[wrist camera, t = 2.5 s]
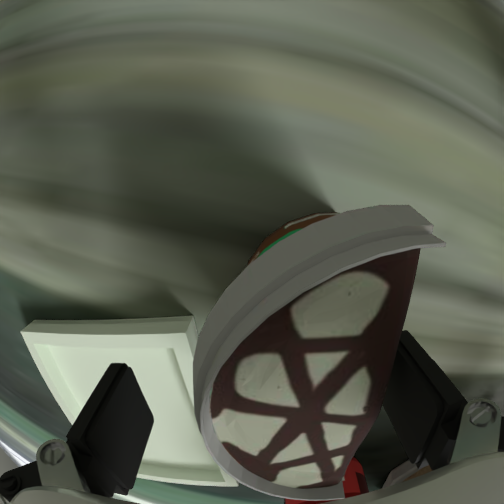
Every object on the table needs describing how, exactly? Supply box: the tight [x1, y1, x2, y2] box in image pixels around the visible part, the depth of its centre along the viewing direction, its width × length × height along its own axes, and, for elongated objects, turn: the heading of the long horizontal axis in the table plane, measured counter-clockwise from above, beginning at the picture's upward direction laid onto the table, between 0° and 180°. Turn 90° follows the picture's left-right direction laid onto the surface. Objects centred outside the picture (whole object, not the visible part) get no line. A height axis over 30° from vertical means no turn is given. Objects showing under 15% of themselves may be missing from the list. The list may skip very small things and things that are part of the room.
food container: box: [193, 205, 446, 501], centre depth 12 cm, size 12×6×10 cm, turn 179°
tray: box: [21, 315, 239, 486], centre depth 19 cm, size 14×18×2 cm
